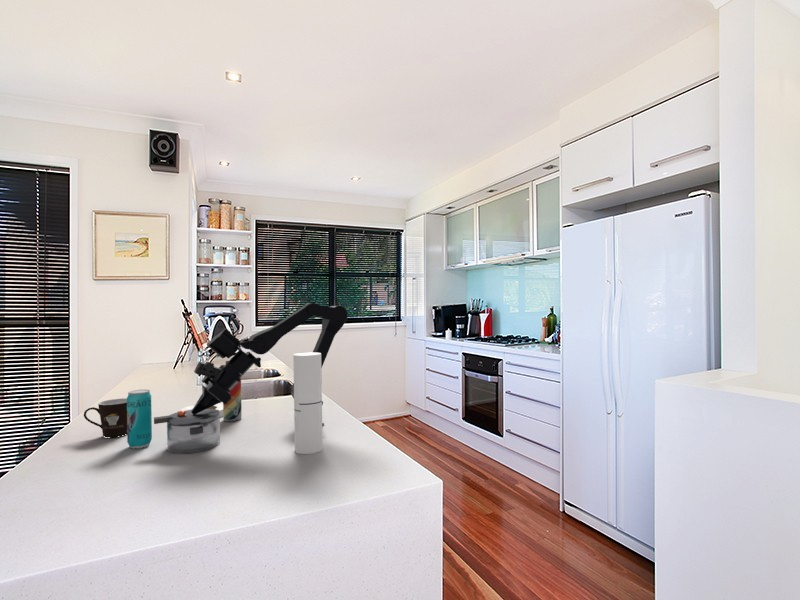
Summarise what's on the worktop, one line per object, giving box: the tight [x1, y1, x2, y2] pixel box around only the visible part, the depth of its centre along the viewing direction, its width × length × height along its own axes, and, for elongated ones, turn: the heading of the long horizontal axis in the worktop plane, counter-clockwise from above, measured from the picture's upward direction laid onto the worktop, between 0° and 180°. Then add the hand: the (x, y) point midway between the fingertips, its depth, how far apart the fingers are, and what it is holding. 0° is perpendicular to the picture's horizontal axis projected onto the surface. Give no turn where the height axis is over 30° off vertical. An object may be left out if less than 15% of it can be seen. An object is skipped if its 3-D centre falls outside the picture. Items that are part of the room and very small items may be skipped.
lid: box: [153, 409, 221, 426], centre depth 118 cm, size 16×13×2 cm
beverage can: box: [126, 389, 153, 450], centre depth 119 cm, size 6×6×15 cm
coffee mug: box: [83, 397, 127, 438], centre depth 130 cm, size 12×9×10 cm
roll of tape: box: [179, 402, 223, 418], centre depth 152 cm, size 16×15×3 cm
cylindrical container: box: [292, 351, 324, 455], centre depth 114 cm, size 7×7×25 cm
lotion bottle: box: [222, 360, 243, 422], centre depth 145 cm, size 6×6×20 cm
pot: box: [166, 417, 221, 455], centre depth 119 cm, size 13×18×7 cm
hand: (192, 413), depth 119 cm, fingers closed
